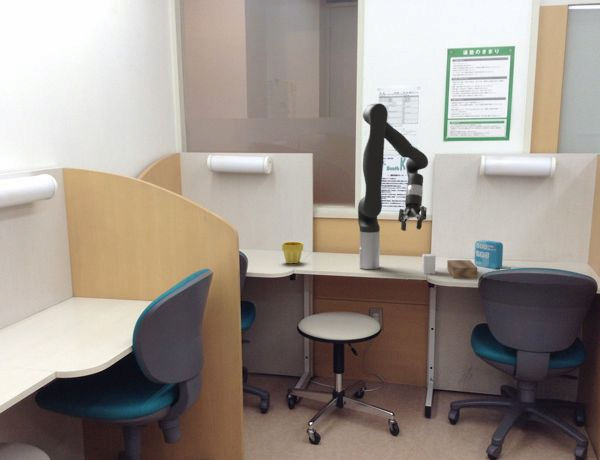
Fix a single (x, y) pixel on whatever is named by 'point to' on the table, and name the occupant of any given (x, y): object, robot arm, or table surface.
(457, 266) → the walnut block
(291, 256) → the plant pot
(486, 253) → the data package
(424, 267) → the white block
